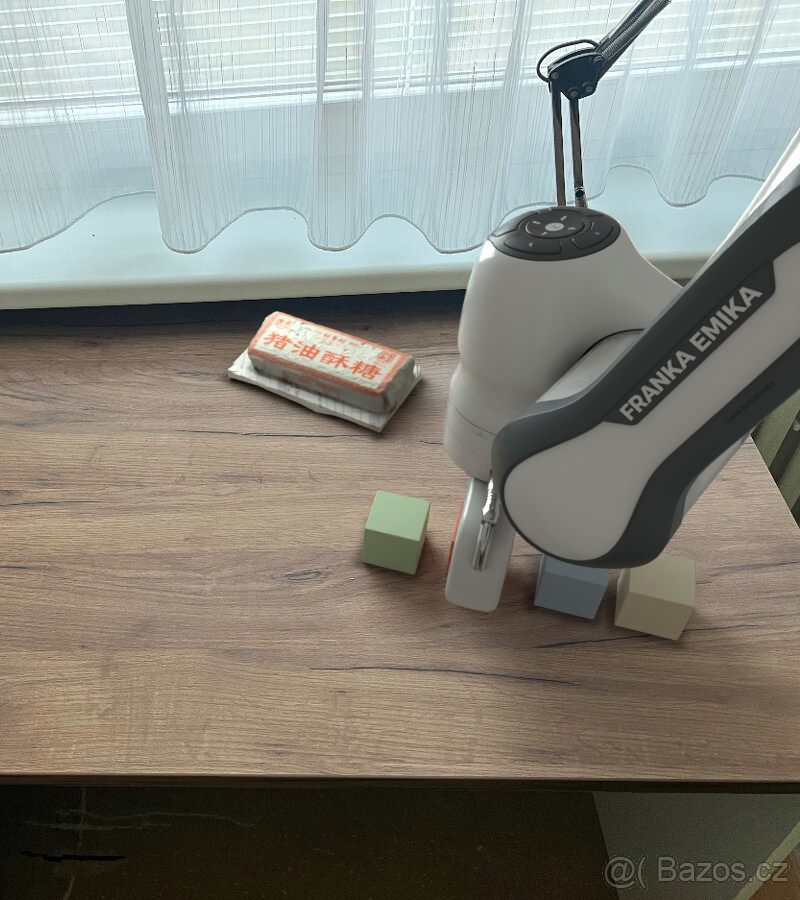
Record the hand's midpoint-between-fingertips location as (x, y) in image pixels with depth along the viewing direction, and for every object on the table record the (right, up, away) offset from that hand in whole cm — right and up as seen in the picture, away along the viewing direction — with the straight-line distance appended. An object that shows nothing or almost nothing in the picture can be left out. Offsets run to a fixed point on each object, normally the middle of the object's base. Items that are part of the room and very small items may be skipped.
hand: (481, 548), depth 71 cm
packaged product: (-10, +15, +21) cm, 28 cm away
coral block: (0, -1, +1) cm, 2 cm away
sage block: (-6, 0, +4) cm, 7 cm away
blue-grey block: (+7, -3, 0) cm, 8 cm away
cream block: (+12, -5, -2) cm, 13 cm away
